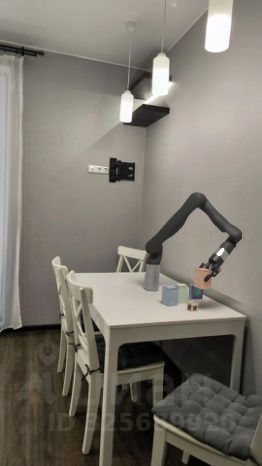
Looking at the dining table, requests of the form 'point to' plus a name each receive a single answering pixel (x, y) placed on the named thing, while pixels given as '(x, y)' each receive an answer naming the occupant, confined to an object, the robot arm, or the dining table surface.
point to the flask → (195, 292)
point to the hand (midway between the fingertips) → (200, 279)
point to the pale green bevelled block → (182, 292)
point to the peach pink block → (202, 278)
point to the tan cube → (192, 306)
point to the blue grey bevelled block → (169, 295)
